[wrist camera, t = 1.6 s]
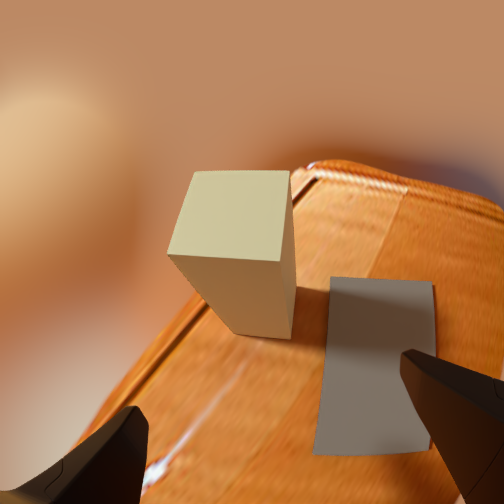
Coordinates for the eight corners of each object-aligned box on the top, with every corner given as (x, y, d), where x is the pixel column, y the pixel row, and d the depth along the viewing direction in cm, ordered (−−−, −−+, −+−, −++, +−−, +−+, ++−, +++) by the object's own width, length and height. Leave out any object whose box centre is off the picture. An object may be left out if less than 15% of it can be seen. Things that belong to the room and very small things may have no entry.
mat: (425, 449, 15) (428, 450, 15) (312, 453, 17) (312, 454, 16) (429, 284, 22) (431, 281, 21) (330, 279, 24) (330, 276, 23)
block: (290, 339, 22) (279, 261, 11) (233, 333, 23) (166, 254, 11) (296, 285, 24) (289, 170, 13) (242, 282, 25) (194, 171, 14)
